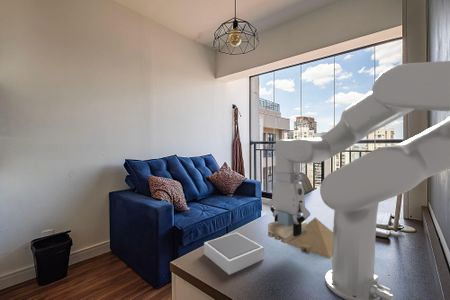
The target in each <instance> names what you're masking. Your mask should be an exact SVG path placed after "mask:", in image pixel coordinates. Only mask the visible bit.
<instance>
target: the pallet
mask: <svg viewBox="0 0 450 300" xmlns="http://www.w3.org/2000/svg"><path fill="white" fill-rule="evenodd" d="M307 224H308V223H307V221H306V220H305V221H303V223H302V232H301V235H299V236H296V237H295V236H294V235H293V225H291V226H285V225H282V224H279V223H278V221H275V220H274V221H272V222H269V223H268V224H267V231H268V232H267V236H268V237H270V238H274V239H273V240H275V241H276V240H277V241H280V242H281V243H284V244H287V242H290V241H292V240H294V239H296V238H299V237H301V236H303V235H306V234H307Z"/></svg>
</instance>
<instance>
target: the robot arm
mask: <svg viewBox="0 0 450 300" xmlns="http://www.w3.org/2000/svg"><path fill="white" fill-rule="evenodd" d="M414 110H418V111H420V110H421V111H433V112H435V111H437V112H450V60H441V61H425V62H424V61H423V62H410V63H403V64H402V63H400V64H397V65H393V66H390V67H388V68H387V69H385V70H384V71H383V72H381V73H380V74H379V75H378V76H377V77H376V79H375V80H374V82H373V85H372V90H371V91H370V92H368V93H367V94H365V95H364V96H363V97H361V98H360V99H359V100H357V101H356V102H354V103H352V104H351V105H349V106H347V107H346V108H344V110H343V111H342V112H341V115H340V120H339V121H338V123H337V124H336V125H335V126H334V127H332V128H331V129H329V130H328V131H327V132H325V133H324V134H322V135H320V136H319V137H308V138H307V137H304V138H298V139H294V138H291V139H289V138H288V139H287V138H285V139H283V138H282V139H278V140H276V142H275V145H274V151H275V152H274V162H275V163H274V164H275V165H274V166H275V167H274V172H275V173H274V174H275V176H274V178H275V179H274V181H273V185H272V186H273V187H272V193H271V195H272V197H271V198H272V199H270V200H269V201H267V205H268V207H269V208H270V211H271V213H272V217H273V218H274V222H275V221H278V211H282V212H285V213H289V214H291V215H292V216H293V219H294V222H295V223H294V224H293V235H294V236H295V237H296V236H299V235H301V232H302V223H303V221H305V222H306V220H307V219H308V218H309V217H310V216H311V212H310V211H309V210H308V209H307V207H306V203H305V202H306V201H305V200H306V199H305V192H304V187H303V183H302V182H301V180H303V176H302V175H300V164H304V165H308V164H309V165H310V164H315V163H321V162H325V161H328V160H329V159H331V158H333V157H335V156H337V155H339V154H341V153H343V152H344V151H347V150H348V149H349V148H351V147H352V146H353V145H355V144H357V143H359V142H361V141H362V140H363V139H364V138H366V137H367V136H369V135H371V134H373V133H375V132H376V131H378V130H380V129H382V128H384V127H385V126H387V125H389V124H391V123H393V122H394V121H397V120H399V119H400V118H402V117H404V116H406V115H407V114H409V113H411V112H413V111H414ZM448 170H450V116H448V117H447V118H446V119H445V120H442V121H441V122H439V123H438V124H435V125H433V126H431V127H429V128H427V129H425V130H424V131H421V133H419V134H416V135H414V136H413V137H410V138H408V139H406V140H404V141H402V142H400V143H397V144H392V145H384V146H381V147H379V148H376V149H373V150H372V151H370V152H367V153H366V154H363V155H362V156H360V157H358V158H356V159H354V160H352V161H351V162H348V163H347V164H345V165H343V166H341V167H339V168H337V169H336V170H334V171H332V172H330V173H329V174H327V175H326V176H325V177H324V179H322V180H321V181H322V182H321V184H320V188H319V194H320V198H321V200H322V201H323V203H324V204H325V205H326V206H327V208H329V209H331V210H333V211H334V212H333V225H332V226H333V227H332V232H333V250H332V257H331V260H332V261H331V270H328V271H327V272H326V273H325V284H326V285H327V287H328V289H330V290H331V291H332V292H333V293H334V294H335V295H336V296H339V297H340V298H342V299H344V300H395V295H394V294H393V293H392V288H390V287H387V286H386V285H385V286H384V285H382V284H381V282H379V276H378V275H377V274H375V256H376V255H375V254H376V234H377V219H378V210H379V203H380V202H383V201H387V200H389V199H392V198H394V197H397V196H399V195H401V194H404V193H406V192H409V191H411V190H412V189H414V188H416V187H417V186H418V185H419V184H421V183H422V182H423V181H424V180H427V179H428V178H431V177H433V176H435V175H438V174H440V173H442V172H445V171H448ZM297 217H298V218H297Z"/></svg>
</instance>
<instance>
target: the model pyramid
mask: <svg viewBox="0 0 450 300" xmlns="http://www.w3.org/2000/svg"><path fill="white" fill-rule="evenodd" d="M286 244H288V245H290V246H294V247H296V248H299V249H301V251H306V252H307V253H309V252H311V253H313V254H316V255H318V256H322V257H325V258H326V259H327V258H328V259H332V250H333V230H331V229H330V228H328V226H326V225H325V224H324V223H322V222H321V221H320V220H319V219H318V218H317V217H314V218H313V219H312V220H310V221H309V222H308V223H307V234H306V235H303V236H301V237H299V238H296V239H294V240H292V241H290V242H287V243H286Z"/></svg>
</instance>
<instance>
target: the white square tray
mask: <svg viewBox="0 0 450 300" xmlns="http://www.w3.org/2000/svg"><path fill="white" fill-rule="evenodd" d="M203 254H204V256H206V257H207V258H208V259H210V260H211V261H212V262H213V263H214V264H215V265H216V266H218V267H219V268H220V269H221V270H223V271H224V272H225V273H226V274H227V275H229V276H230V275H233V274H234V273H237V272H239V271H241V270H244V269H246V268H248V267H250V266H252V265H254V264H256V263H259V262H261V261H263V260H264V257H265V255H264V254H265V247H264V246H262V245H260V244H259V243H257V242H255V241H254V240H251V239H249V238H248V237H246V236H244V235H242V234H240V233H239V232H233V233H229V234H226V235H224V236H221V237H217V238H214V239H211V240H208V241H205V242H203Z"/></svg>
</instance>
